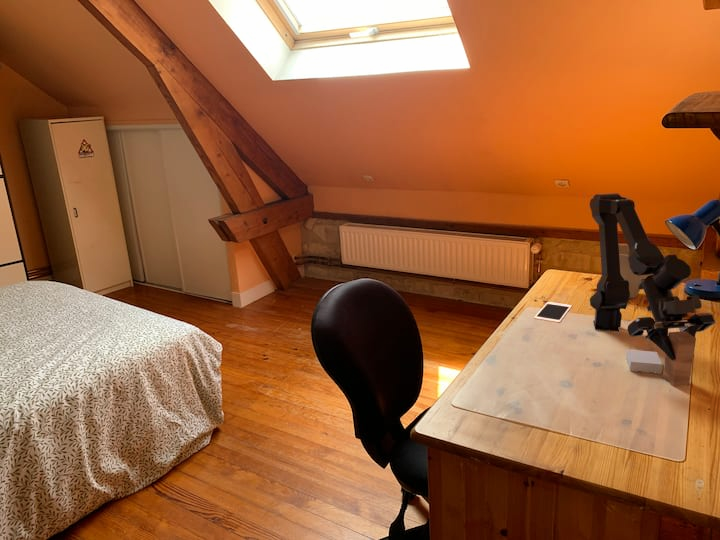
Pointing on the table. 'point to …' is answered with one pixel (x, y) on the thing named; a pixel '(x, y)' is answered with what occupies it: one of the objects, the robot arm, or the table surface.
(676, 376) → the walnut block
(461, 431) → the table surface
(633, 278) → the plant pot
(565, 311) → the cell phone
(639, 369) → the base
